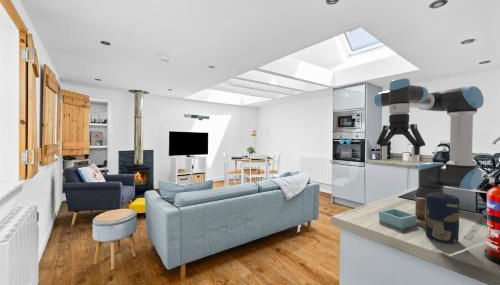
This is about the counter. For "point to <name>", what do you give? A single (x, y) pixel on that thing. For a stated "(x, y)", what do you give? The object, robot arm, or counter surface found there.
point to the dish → (398, 218)
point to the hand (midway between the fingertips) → (398, 161)
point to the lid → (420, 211)
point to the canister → (442, 217)
